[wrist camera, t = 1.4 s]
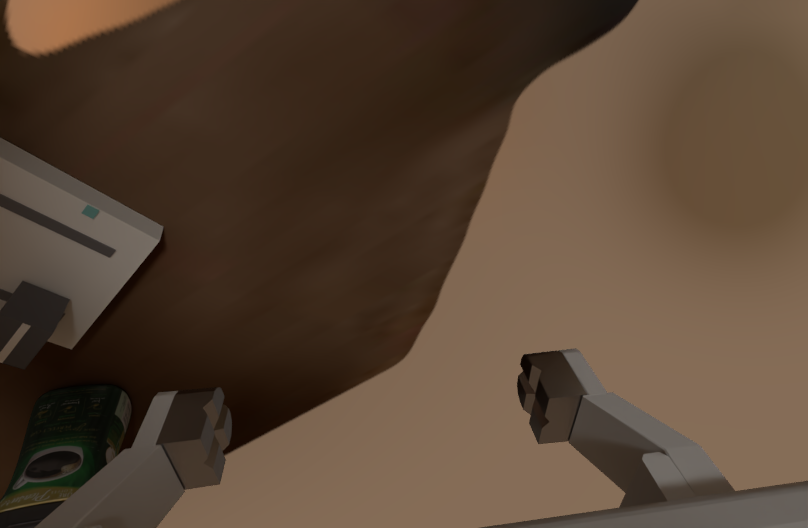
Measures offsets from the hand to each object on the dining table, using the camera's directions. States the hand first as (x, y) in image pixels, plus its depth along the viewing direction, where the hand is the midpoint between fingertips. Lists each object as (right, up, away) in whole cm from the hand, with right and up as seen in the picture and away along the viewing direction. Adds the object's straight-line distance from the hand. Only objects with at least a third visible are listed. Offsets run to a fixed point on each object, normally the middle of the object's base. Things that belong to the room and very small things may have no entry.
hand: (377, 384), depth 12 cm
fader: (-35, -1, +30) cm, 46 cm away
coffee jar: (-38, -14, +42) cm, 58 cm away
